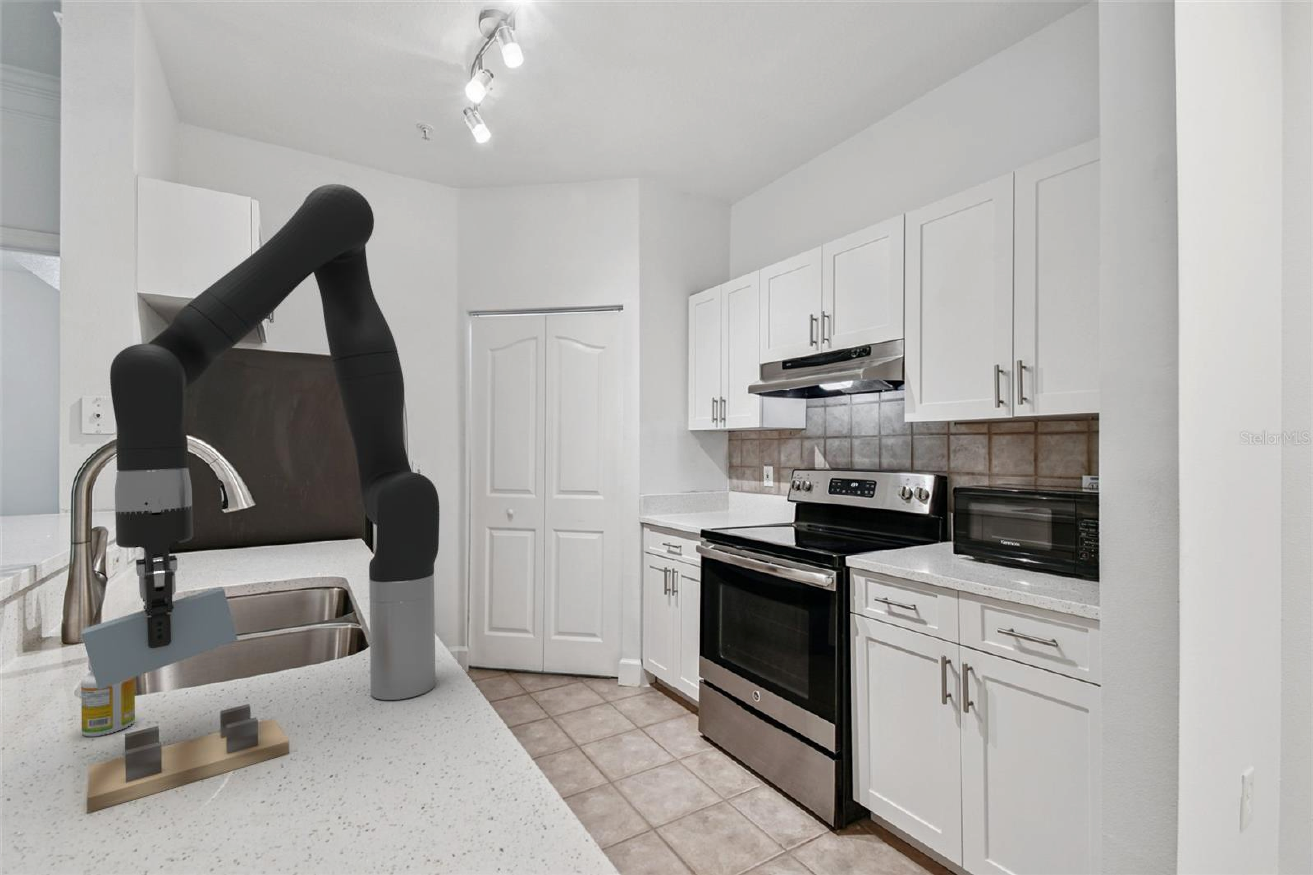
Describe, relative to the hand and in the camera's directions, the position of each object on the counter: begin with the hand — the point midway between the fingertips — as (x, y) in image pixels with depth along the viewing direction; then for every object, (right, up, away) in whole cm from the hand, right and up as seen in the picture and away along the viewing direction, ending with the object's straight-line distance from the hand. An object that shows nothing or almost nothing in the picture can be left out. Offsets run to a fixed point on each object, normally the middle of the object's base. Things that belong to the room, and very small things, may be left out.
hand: (159, 642), depth 78 cm
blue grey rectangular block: (+1, -3, +1) cm, 3 cm away
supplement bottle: (-11, -13, +5) cm, 18 cm away
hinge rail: (+8, -13, -5) cm, 16 cm away
